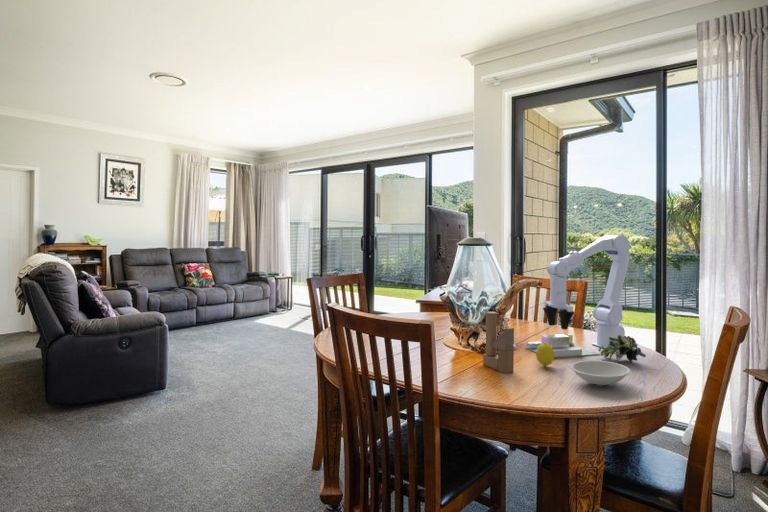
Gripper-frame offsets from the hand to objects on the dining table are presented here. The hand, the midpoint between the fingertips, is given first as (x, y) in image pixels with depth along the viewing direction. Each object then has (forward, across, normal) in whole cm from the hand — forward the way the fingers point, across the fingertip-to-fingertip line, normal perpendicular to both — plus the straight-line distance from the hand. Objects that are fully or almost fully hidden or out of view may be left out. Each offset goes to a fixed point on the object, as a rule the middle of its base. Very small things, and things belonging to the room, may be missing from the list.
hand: (558, 327), depth 160 cm
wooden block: (+8, +17, -36) cm, 40 cm away
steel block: (+8, +6, -5) cm, 11 cm away
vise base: (+8, +4, -2) cm, 10 cm away
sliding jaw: (+8, -1, -2) cm, 8 cm away
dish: (+8, +39, -15) cm, 42 cm away
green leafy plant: (+9, +21, +9) cm, 25 cm away
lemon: (+8, +20, -20) cm, 29 cm away
